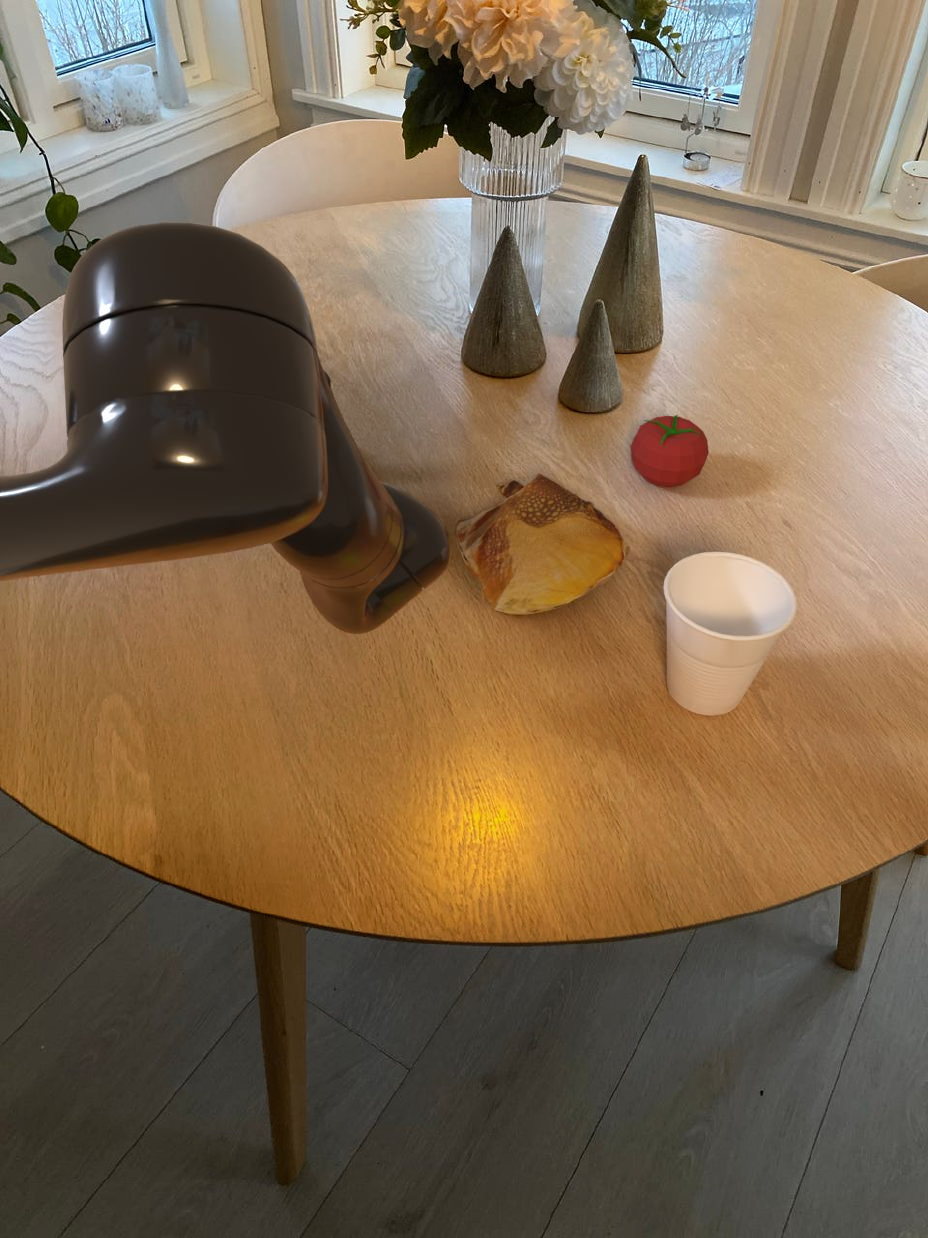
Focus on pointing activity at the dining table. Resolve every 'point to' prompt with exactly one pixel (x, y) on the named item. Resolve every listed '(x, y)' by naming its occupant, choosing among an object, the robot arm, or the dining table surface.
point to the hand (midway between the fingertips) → (216, 359)
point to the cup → (721, 627)
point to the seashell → (539, 548)
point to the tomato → (669, 451)
